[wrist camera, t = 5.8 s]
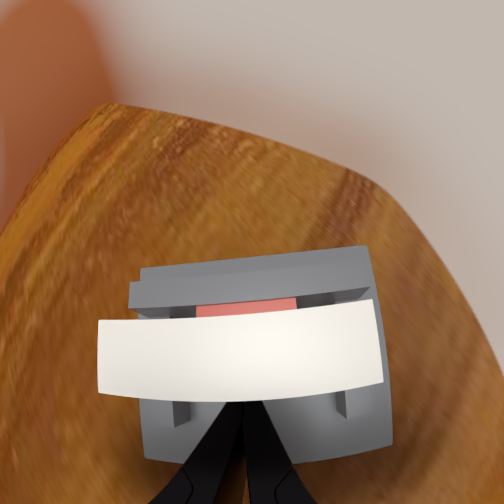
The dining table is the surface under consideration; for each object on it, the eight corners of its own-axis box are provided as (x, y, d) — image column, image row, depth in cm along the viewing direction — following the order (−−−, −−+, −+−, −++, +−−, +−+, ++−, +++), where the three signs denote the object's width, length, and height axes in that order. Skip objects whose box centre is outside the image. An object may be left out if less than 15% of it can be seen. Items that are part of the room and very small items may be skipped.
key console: (385, 440, 12) (427, 465, 7) (153, 453, 13) (104, 477, 8) (361, 252, 17) (389, 205, 12) (148, 274, 18) (104, 237, 13)
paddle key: (327, 375, 13) (383, 382, 5) (193, 385, 13) (98, 392, 6) (323, 338, 14) (372, 299, 6) (191, 348, 14) (98, 319, 7)
